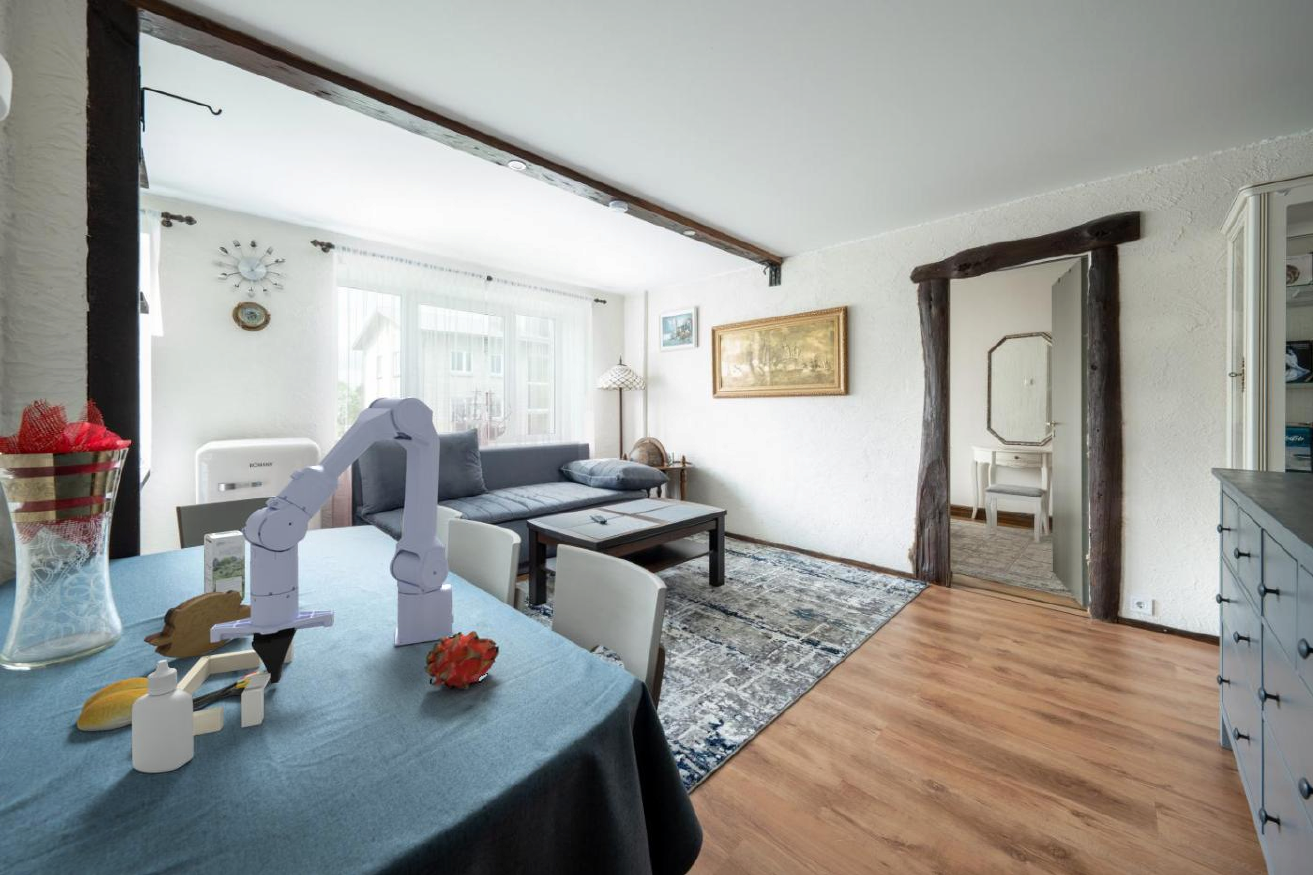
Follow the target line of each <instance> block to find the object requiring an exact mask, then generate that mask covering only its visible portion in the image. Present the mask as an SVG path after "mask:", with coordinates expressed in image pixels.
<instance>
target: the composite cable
mask: <svg viewBox="0 0 1313 875" xmlns="http://www.w3.org/2000/svg"><path fill="white" fill-rule="evenodd" d="M262 674H268V672H267V670H266V668H265V669H264V670H256V671H253V672H251V673H249V674H245V675H244V676H243V677H242V678H240V679H238V680H236V681H234V682H233V683H231V684H229V685H227V686H225V687H223V688H221V689H218V690H215V691H212V692H209V693H206V694H203V695H199V696H197V697H194V698H192V700H193V710H195V709H199V708H200V707H202V706H205V705H206V704H208V703H211V702H214V701H215V700H218V699H222V698H225V697H230V696H239V695H241V694H242V692H243V691H244V689H245V687H246V686H247V684H248V683H249V681H250V679H251V678H252V676H256V675H262ZM268 682H270V679H269V681H268Z"/></svg>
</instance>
